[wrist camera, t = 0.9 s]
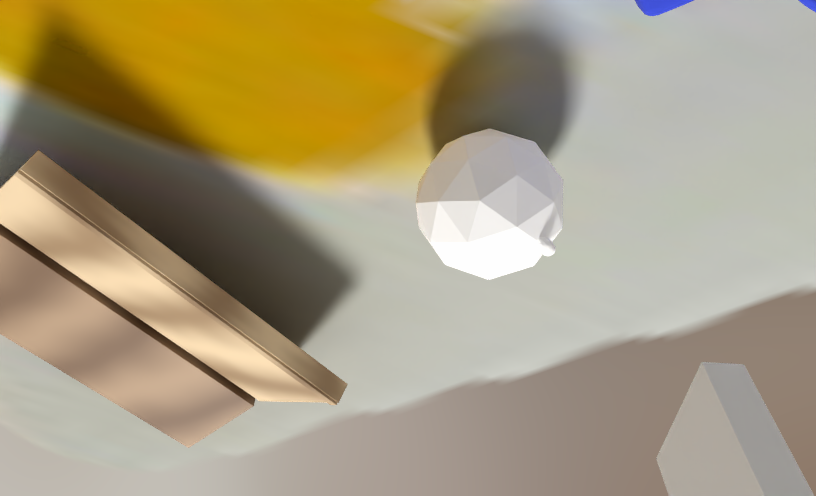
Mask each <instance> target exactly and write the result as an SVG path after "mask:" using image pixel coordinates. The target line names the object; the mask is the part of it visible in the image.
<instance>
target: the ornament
mask: <svg viewBox="0 0 816 496" xmlns="http://www.w3.org/2000/svg"><path fill="white" fill-rule="evenodd" d="M416 208H417V216H418V224H419V228H420V230H421V231H422V233H423V234H424V235H425V237H426V238H427V240H428V241H429V242H430V244H431V245H432V247H433V248H434V250H435V251H436V252H437V254H438V255H439V257H440V258H441V260H442V261H443V262H444V264H445V265H448V266H450V267H453V268H456V269H459V270H462V271H465V272H468V273H471V274H474V275H477V276H479V277H482V278H485V279H488V280H489V279H493V278H496V277H499V276H503V275H506V274H509V273H512V272H516V271H519V270H522V269H526V268H529V267H532V266H534V265H535V264H536V262H537V261H538V260H539V259H540V257H541V256H542V255H545V256H551V255H553V254H554V253H555V245H554V243H553V242H552V241H553V240H554V239H555V237H556V236H557V235H558V233H559V232H560V231H561V229H562V228H563V179H562V178H561V176H560V175H559V174H558V172H557V171H556V169H555V168H554V167H553V165H552V164H551V163H550V161H549V160H548V159H547V157H546V156H545V155H544V153H543V152H542V151H541V149H540V148H539V147H538V145H537V144H536V142H534V141H531V140H527V139H524V138H521V137H517V136H514V135H511V134H507V133H504V132H500V131H497V130H494V129H490V128H489V129H486V130H482V131H478V132H475V133H471V134H468V135H464V136H462V137H460V138H458V139H455V140H453V141H451V142H449V143H447V144H445V146H444V147H443V148H442V149H441V151H440V152H439V153H438V155H437V156H436V157H435V158H434V160H433V161H432V162H431V164H430V165H429V167H428V168H427V170H426V171H425V173H424V175H423V176H422V178H421V179H420V181H419V186H418V192H417V199H416Z"/></svg>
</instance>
